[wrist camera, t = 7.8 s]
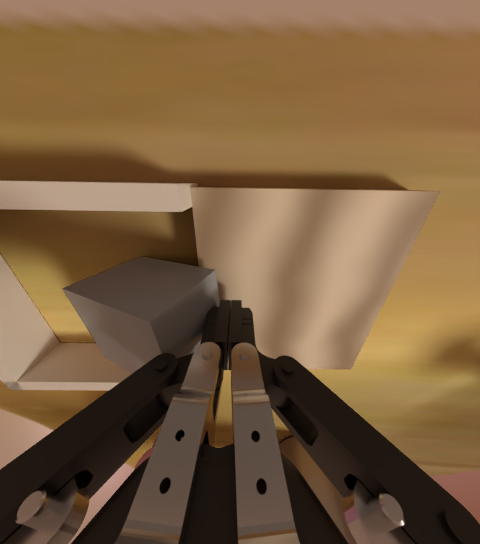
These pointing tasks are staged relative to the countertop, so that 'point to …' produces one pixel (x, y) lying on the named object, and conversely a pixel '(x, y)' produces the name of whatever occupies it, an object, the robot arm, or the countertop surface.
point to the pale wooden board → (308, 261)
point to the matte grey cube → (145, 309)
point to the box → (23, 313)
